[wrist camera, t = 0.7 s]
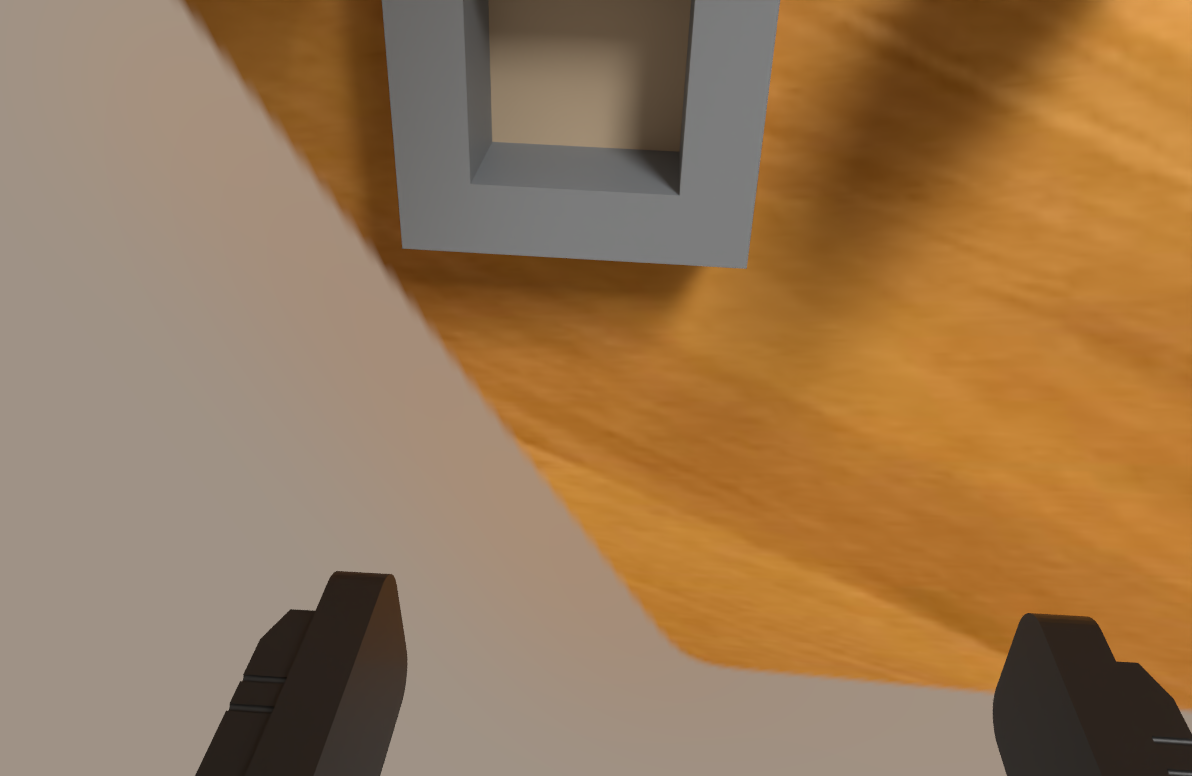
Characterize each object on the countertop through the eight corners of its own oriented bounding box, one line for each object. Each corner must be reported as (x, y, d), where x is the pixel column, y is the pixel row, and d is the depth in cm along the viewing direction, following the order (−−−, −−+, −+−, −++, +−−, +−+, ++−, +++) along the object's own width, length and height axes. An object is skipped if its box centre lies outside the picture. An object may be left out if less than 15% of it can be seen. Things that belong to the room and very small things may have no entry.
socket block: (414, -153, 32) (370, -142, 27) (778, -139, 32) (795, -125, 27) (435, 192, 38) (402, 248, 34) (738, 208, 38) (746, 268, 33)
